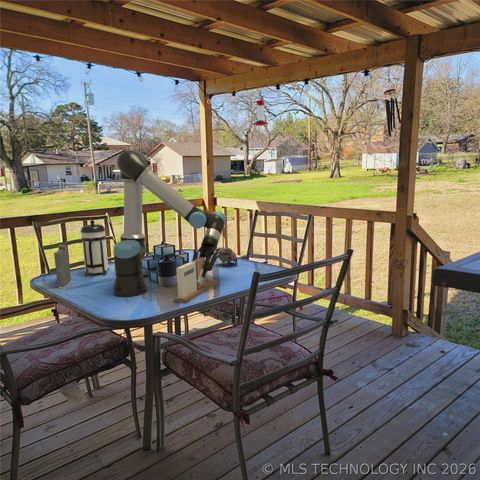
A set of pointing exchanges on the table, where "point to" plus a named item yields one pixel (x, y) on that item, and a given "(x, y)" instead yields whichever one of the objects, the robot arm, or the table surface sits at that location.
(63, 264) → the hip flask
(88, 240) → the coffee press
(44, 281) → the table surface
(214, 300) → the table surface
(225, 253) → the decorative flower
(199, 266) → the orange book
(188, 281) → the ticket holder
